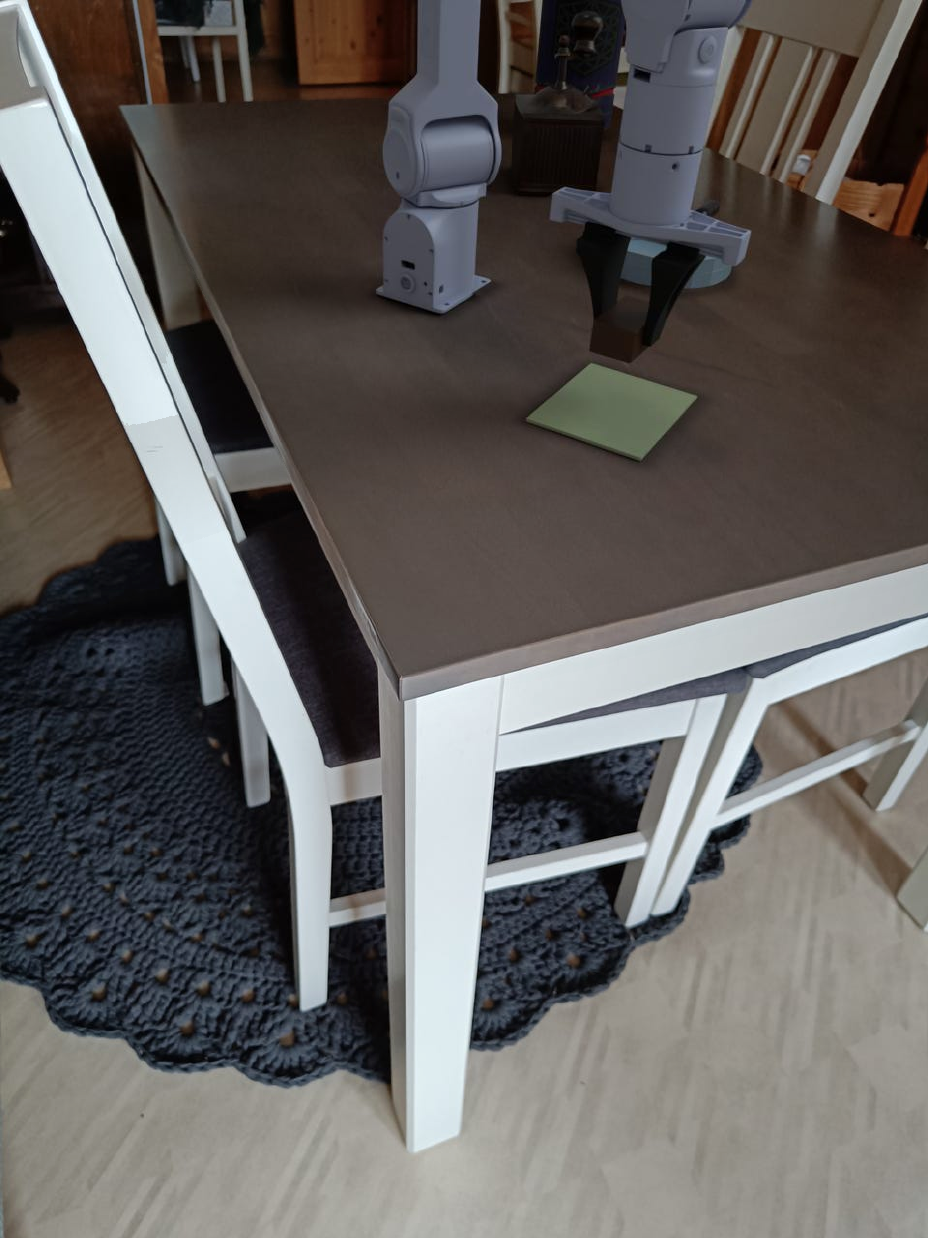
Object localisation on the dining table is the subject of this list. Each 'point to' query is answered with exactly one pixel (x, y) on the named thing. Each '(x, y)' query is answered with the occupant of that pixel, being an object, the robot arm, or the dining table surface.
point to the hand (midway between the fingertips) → (627, 334)
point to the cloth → (613, 410)
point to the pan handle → (709, 208)
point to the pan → (645, 251)
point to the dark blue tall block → (557, 21)
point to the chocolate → (620, 330)
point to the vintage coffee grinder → (559, 126)
